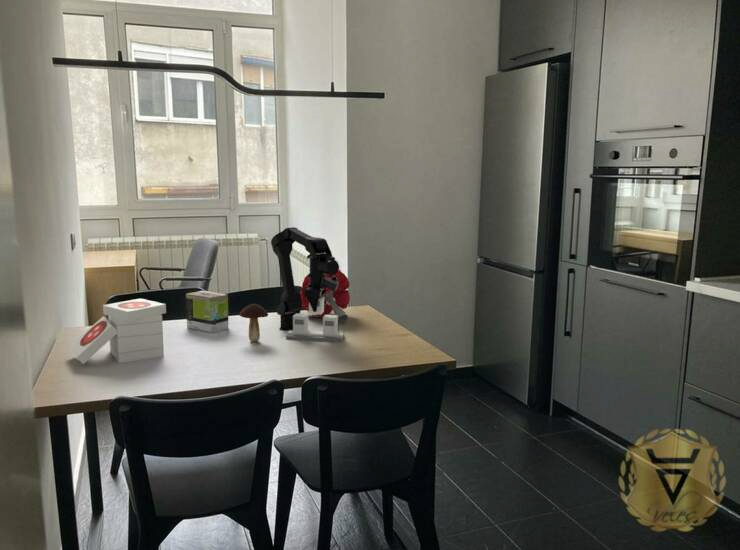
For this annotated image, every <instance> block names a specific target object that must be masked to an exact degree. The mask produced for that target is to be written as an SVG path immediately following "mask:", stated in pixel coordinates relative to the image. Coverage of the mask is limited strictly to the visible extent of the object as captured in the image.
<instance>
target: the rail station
mask: <svg viewBox="0 0 740 550" xmlns="http://www.w3.org/2000/svg"><path fill="white" fill-rule="evenodd" d="M338 324H339V323H338V315H334V314H329V315H324V316H323V317H322V331H313V330H311V331H309V313H301V312H300V313H296V314H295V315H294V316H293V330H287V334H286V335H285V339H286V340H294V339H297V340H298V341H299V340H300V341H313V342H314V341H315V342H316V341H317V342H331V341H337V342H336V343H341V342H342V341H343V340H344V338H345V333H344V332H339V331H338V330H339V328H338V327H339V325H338ZM342 339H343V340H342Z"/></svg>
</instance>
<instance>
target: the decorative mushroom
mask: <svg viewBox="0 0 740 550" xmlns="http://www.w3.org/2000/svg"><path fill="white" fill-rule="evenodd" d="M238 316H240V317H242V318H245V319H249V324H248V339H249V341H250V342H253V343H256V342H258V341H259V340H260V337H261V336H260V322H259V318H267V317H268V316H269V314H268V311H267V310H266V309H265V308H264V307H263V306H261V305H260V304H258V303H251V304H248V305H247V306H245V307H243V308H242V309H241V310H240V312H239V314H238Z"/></svg>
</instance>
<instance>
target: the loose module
mask: <svg viewBox="0 0 740 550" xmlns="http://www.w3.org/2000/svg"><path fill="white" fill-rule="evenodd" d="M323 312H324V297H320V298H319V300H318V306H317V311H316V312H313V309H312V307H311V305H310V303H309V312H308V315H316V314H322V313H323Z"/></svg>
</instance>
